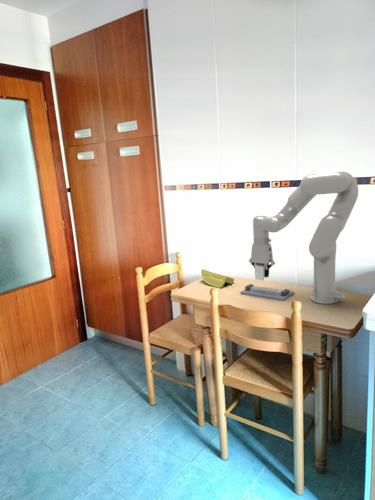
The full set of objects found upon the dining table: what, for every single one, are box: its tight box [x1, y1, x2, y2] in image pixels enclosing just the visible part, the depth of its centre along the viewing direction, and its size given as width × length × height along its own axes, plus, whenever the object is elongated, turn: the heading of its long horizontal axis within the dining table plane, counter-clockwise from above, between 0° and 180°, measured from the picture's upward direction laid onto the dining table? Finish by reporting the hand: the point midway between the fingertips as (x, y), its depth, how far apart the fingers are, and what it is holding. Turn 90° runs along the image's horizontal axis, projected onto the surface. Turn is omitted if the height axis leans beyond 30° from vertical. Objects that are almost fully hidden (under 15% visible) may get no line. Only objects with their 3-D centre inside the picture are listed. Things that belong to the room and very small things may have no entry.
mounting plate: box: [239, 286, 295, 302], centre depth 198 cm, size 24×12×1 cm, turn 52°
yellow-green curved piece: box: [200, 268, 235, 289], centre depth 224 cm, size 20×7×10 cm
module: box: [254, 263, 270, 281], centre depth 197 cm, size 4×6×8 cm
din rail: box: [244, 283, 290, 296], centre depth 198 cm, size 22×5×2 cm, turn 52°
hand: (262, 275), depth 198 cm, fingers closed on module, 4 cm apart
